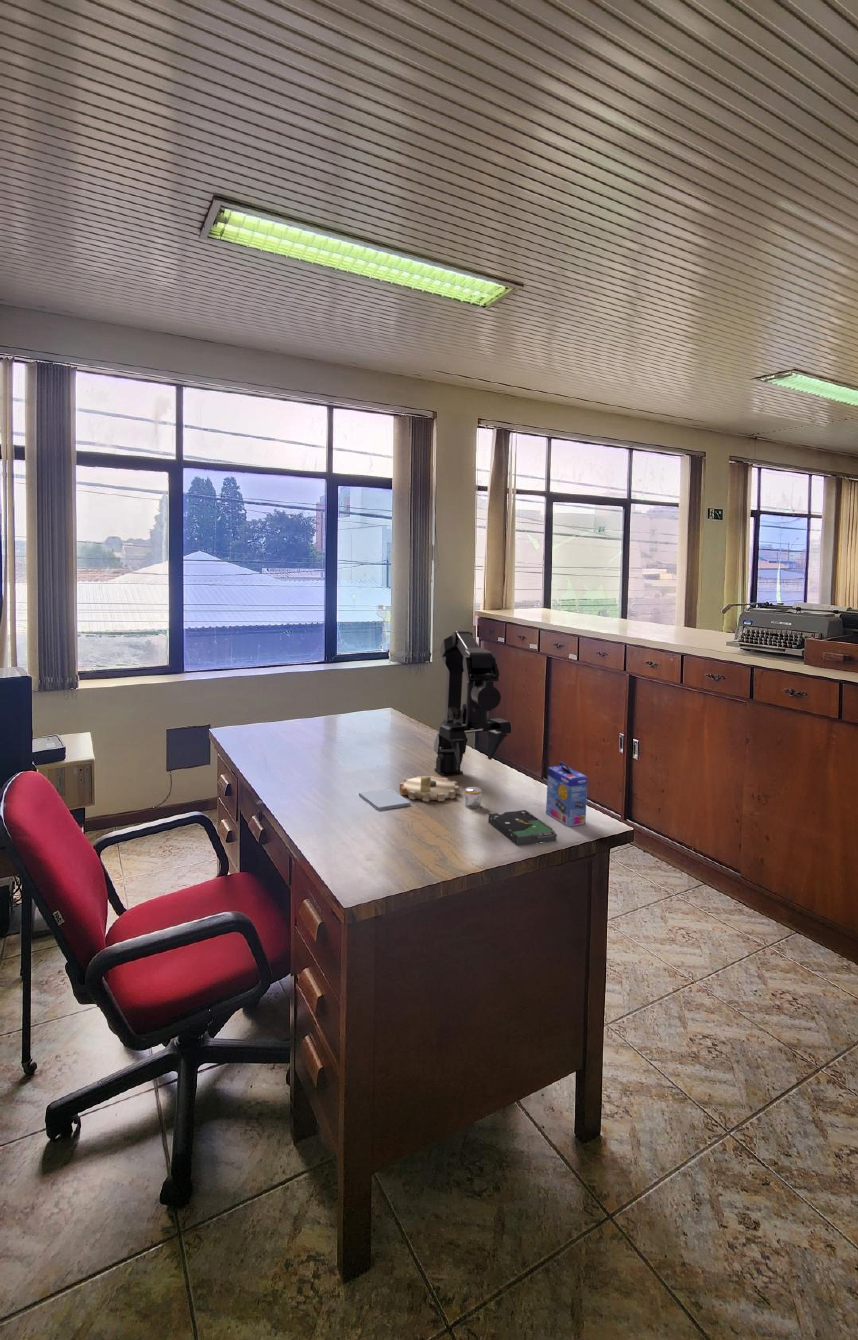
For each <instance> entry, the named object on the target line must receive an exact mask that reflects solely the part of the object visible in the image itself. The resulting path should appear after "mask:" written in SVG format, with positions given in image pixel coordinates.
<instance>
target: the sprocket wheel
mask: <svg viewBox="0 0 858 1340" xmlns="http://www.w3.org/2000/svg"><path fill="white" fill-rule="evenodd" d="M399 791H400V794H401V796H408V798H409V799H411V800H416V799H418V800H422V801H423V802H430V801H438V802H444V801H445V799H454V798H456V795H459V793H460V785H458V782H457V781H455V780H453V781H452V780H449V778H447V777H436V775H429V776H428V775H423V776H422V775H416V776H415V777H413V778H409V777H407V778H404V781H400V783H399Z"/></svg>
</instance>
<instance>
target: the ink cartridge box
mask: <svg viewBox="0 0 858 1340" xmlns="http://www.w3.org/2000/svg"><path fill="white" fill-rule="evenodd" d="M558 763H559V765H557V766H549V767H548V768H547V782H546V784H547V786H546V806H545V808H546V809H545V813H546V815H549V816H550V817H552V818H553V819H555V820H556V821H558V822H559V823H561V824H563V825H564V826H566V827H574V826H581V825H586V818H587V817H586V816H587V798H588V795H587V794H588V776H587V775H585V774H583V773H581V772H579V771H576V770H574V769H573V768H571V767H570V766H569V765H568V764H566V763H564V762H562V761H558Z"/></svg>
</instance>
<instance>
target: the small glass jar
mask: <svg viewBox="0 0 858 1340" xmlns="http://www.w3.org/2000/svg"><path fill="white" fill-rule="evenodd" d="M482 792H483V791H482V789H481V788H480V787H476V786H468V787H466V788H465V797H464V798H465V800H464V801H465V802H464V807H465V808H467V809H470V810H478V809H480V808H481V806H482Z"/></svg>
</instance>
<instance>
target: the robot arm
mask: <svg viewBox="0 0 858 1340" xmlns="http://www.w3.org/2000/svg"><path fill="white" fill-rule="evenodd" d="M440 657H441V661H442V664H443V666H444V667H445V669H446V688H445V708H444V719H443V721H442V722H441V723H440V725H438V733H436V736H435V739H434V742H433V746H434V747H433V750H434V752H435V754H437V757H436V759H435V768H434V772H437V773H438V774H441V775H442V776H444V777H449V776H454V775H463V774H464V771H462V770H461V764H462V762H463V758H464V754H466V752H467V751H466V749H467V744H468V741H469V740H468V739H469V738H468V737H467V734H471V733H472V734H473V733H482V732H485V733H486V735H487V738H488V740H487V742H488V743H487V759H488V760H490V761H491V760H493V758H494V755H495V754H496V752H497V750H498V748H499V746H500V745H501V744H502V742H503V741H504V739H505V738H507V737H508V735H509V734H511V733H512V732H513V725H512V723H511V721H508V720H507V719H504V718H500V717H498V718H489V712H492V711H493V710H495V709H496V708H497V707H498V706H499V705H500V703H501V699H502V698H501V697H502V696H501V692H500V691H499V690H498V689H497V688H496V687H495V686H494V682H499V678H500V677H499V676H500V671H499V666H498V662H497V660H496V657H495V656H494V654H493V653H492V652H491V651H490V650H488V649H484V648H482V647H480V645H479V643H477V641H476V640H475V638H474V636H473V631H470V630H456V631H453V633H452V634H451V635H450V636H447V638H445V639H443V641H442V643H441V645H440ZM463 674H464V676H465V679H466V680H465V681H466V695H465V697H466V699H465V703H462V693H463V691H462V690H463Z"/></svg>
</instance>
